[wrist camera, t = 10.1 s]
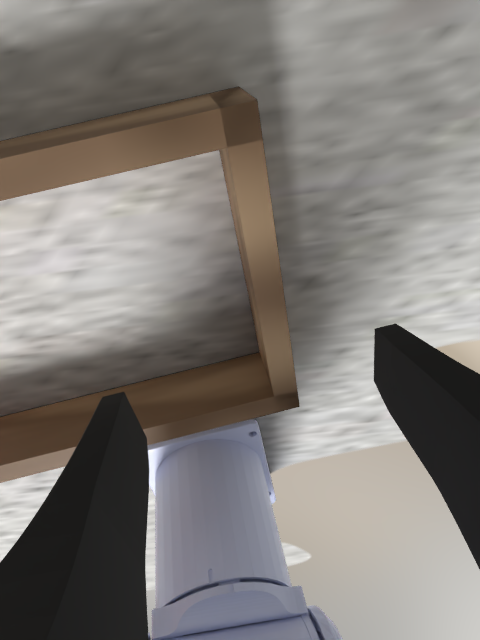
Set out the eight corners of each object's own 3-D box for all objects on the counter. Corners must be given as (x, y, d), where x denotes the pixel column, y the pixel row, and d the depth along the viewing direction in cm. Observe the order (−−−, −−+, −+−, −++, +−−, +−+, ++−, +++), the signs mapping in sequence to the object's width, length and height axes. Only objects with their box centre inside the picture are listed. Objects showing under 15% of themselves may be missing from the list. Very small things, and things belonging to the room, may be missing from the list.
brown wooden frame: (282, 362, 24) (299, 406, 22) (-10, 435, 24) (-32, 490, 21) (238, 86, 16) (257, 99, 13) (-216, 190, 15) (-298, 227, 13)
